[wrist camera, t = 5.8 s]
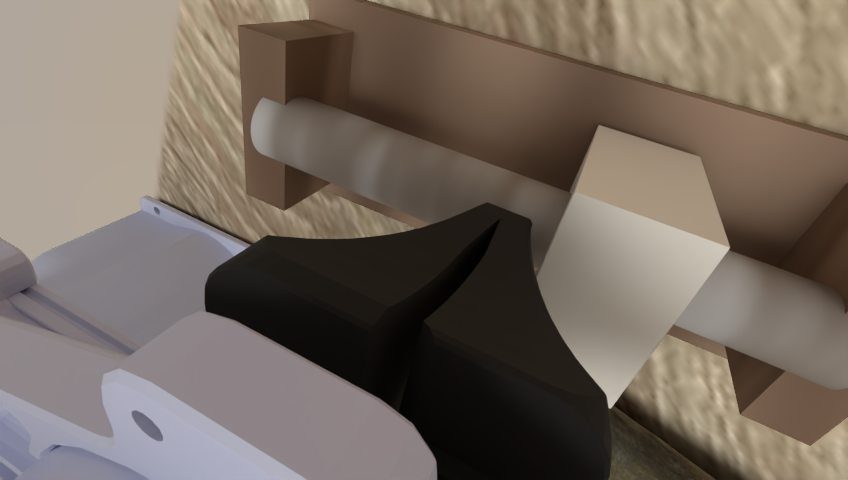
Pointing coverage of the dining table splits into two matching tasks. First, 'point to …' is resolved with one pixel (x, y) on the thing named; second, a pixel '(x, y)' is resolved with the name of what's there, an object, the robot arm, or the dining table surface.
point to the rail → (562, 173)
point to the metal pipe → (646, 454)
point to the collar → (629, 253)
